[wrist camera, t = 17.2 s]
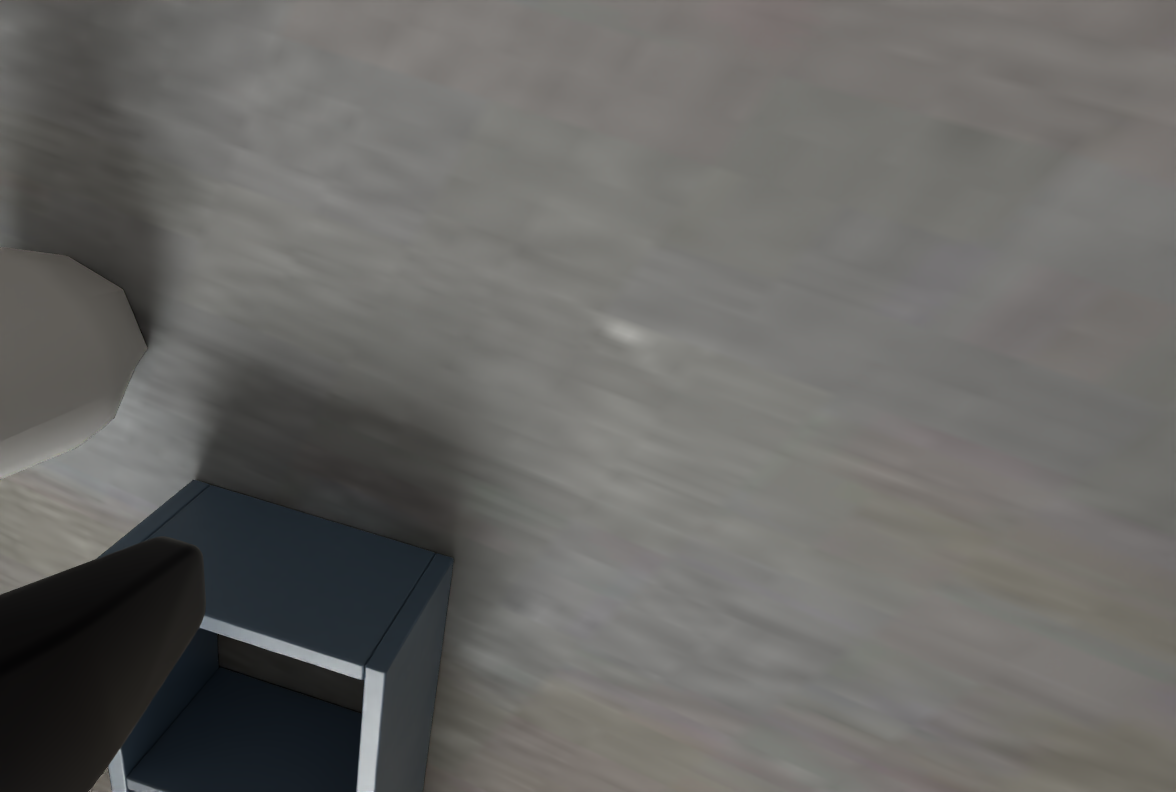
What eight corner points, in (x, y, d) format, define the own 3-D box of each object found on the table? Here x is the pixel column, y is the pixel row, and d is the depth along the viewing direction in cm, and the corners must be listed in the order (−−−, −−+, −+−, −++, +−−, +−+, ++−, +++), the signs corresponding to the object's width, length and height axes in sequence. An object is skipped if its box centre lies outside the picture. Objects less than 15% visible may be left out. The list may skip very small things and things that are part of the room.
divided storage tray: (454, 557, 25) (386, 672, 21) (411, 879, 33) (355, 1009, 29) (193, 478, 26) (76, 573, 21) (213, 809, 34) (132, 926, 30)
